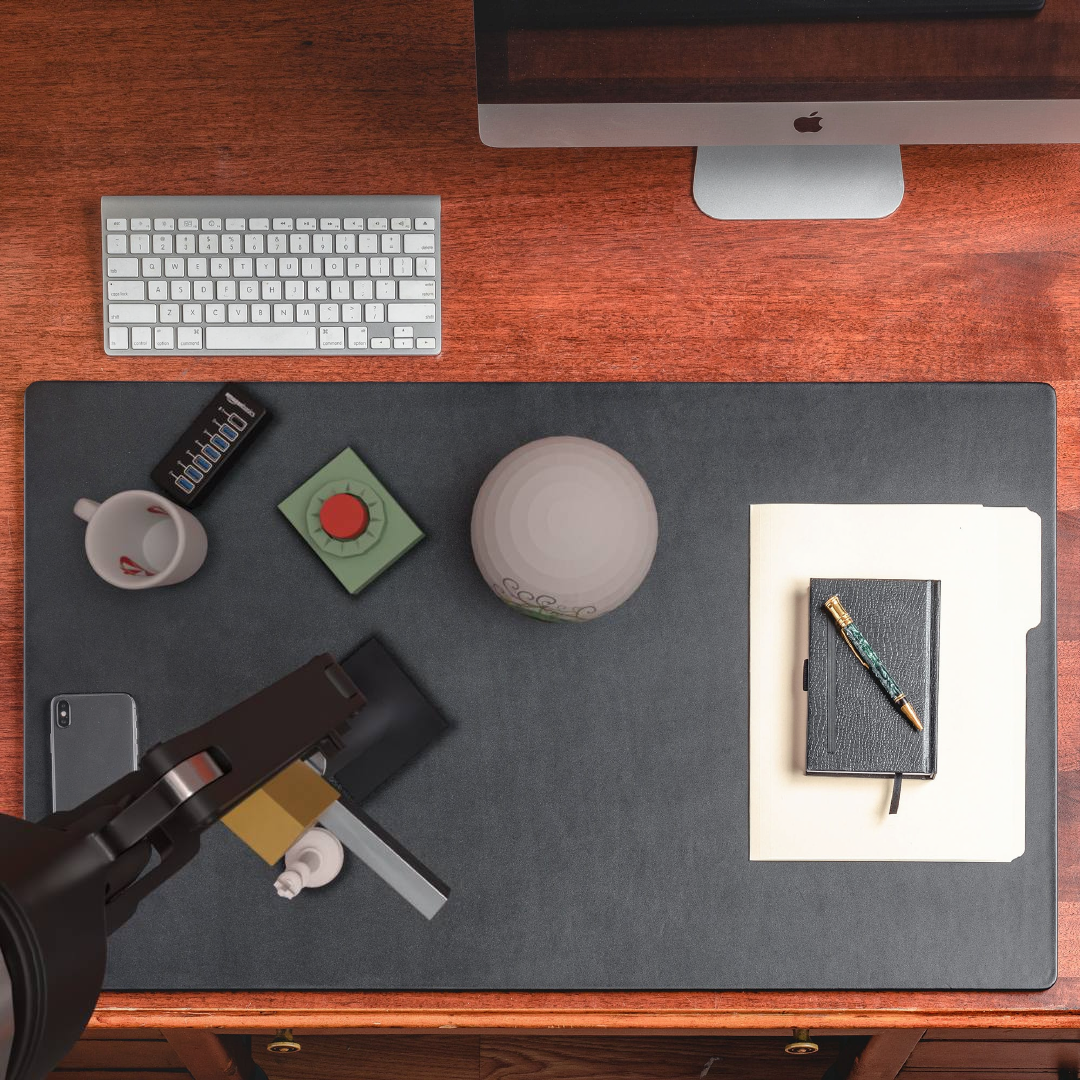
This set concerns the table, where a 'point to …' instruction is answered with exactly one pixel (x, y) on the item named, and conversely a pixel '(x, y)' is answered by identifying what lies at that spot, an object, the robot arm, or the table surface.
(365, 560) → the button box
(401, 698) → the faucet body
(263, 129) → the table surface
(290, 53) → the table surface
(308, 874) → the chess piece
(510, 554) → the decorative object
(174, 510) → the cup
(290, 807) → the tap handle
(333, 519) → the button
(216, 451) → the multiport hub
